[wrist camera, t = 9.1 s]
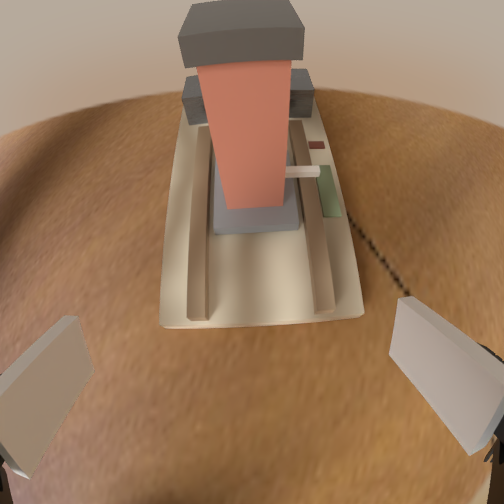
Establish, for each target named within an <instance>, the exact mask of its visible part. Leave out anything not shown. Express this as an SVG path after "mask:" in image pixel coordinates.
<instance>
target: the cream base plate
mask: <svg viewBox="0 0 504 504" xmlns="http://www.w3.org/2000/svg"><path fill="white" fill-rule="evenodd" d="M287 150H288V152H289V158H290V164H291V166H315V165H319V168H320V176H319V177H298V178H293V183H294V190H295V197H296V204H297V211H298V218H299V227H298V230H291V231H274V232H257V233H241V234H225V235H215V232H214V229H213V224H214V185H215V158H216V156H215V152H214V147H213V143H212V138H211V133H210V129H209V124H208V123H206V124H197V125H189V123H188V120H187V116H186V113H185V109H184V105H183V110H182V115H181V121H180V126H179V132H178V138H177V144H176V150H175V156H174V162H173V169H172V176H171V184H170V191H169V199H168V208H167V216H166V226H165V236H164V247H163V260H162V273H161V290H160V312H159V325H160V326H162V327H164V328H166V329H184V328H229V327H252V326H270V325H285V324H298V323H310V322H321V321H331V320H341V319H350V318H358V317H360V316H361V315H363V314H364V306H363V299H362V293H361V286H360V280H359V274H358V268H357V263H356V257H355V252H354V247H353V241H352V236H351V232H350V227H349V222H348V217H347V213H346V209H345V204H344V200H343V196H342V192H341V187H340V183H339V179H338V176H337V172H336V168H335V164H334V161H333V157H332V153H331V150H330V146H329V143H328V139H327V136H326V133H325V129H324V126H323V123H322V119H321V116H320V113H319V110H318V107H317V104H316V101H315V98H313V107H312V115H311V118H289V123H288V140H287Z"/></svg>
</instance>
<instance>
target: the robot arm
mask: <svg viewBox="0 0 504 504" xmlns="http://www.w3.org/2000/svg"><path fill="white" fill-rule="evenodd" d="M389 355H390V357H391V358H392V359H393V360H394V361H395V363H396V364H397V365H398V366H399V367H400V369H401V370H402V371H403V372H404V374H405V375H406V376H407V377H408V378H409V380H410V381H411V382H412V383H413V385H414V386H415V387H416V388H417V389H418V391H419V392H420V393H421V394H422V396H423V397H424V398H425V399H426V401H427V402H428V403H429V404H430V406H431V407H432V408H433V409H434V411H435V412H436V413H437V415H438V416H439V417H440V418H441V420H442V421H443V422H444V423H445V425H446V426H447V427H448V429H449V430H450V431H451V432H452V434H453V435H454V436H455V438H456V439H457V440H458V442H459V443H460V444H461V446H462V447H463V448H464V450H465V451H466V452H467V454H468V455H469V456H470V455H472V454H473V453H475V452H477V451H479V450H480V449H482V448H484V447H485V446H486V445H487V443H488V442H489V440H490V438H491V437H492V435H493V433H494V434H495V435H496V437H497V438H498V439H497V440H496V442H495V443H494V445H493V446H492V448H491V449H490V451H489V452H488V454H487V455H486V457H485V459H484V462H487V460H488V459H489V457H490V456H491V455H492V454H493V458H492V460H491V461H490V462H493V463H492V472H491V481H490V488H489V494H488V500H487V504H504V361H502V359H501V358H500V357H499V356H498V355H495V353H494V352H493V351H491V350H490V349H489V348H487V347H486V346H483V345H481V344H479V343H476V342H475V341H473V340H472V339H471V338H470V337H468V336H467V335H466V334H464V333H463V332H462V331H460V330H459V329H458V328H456V327H455V326H454V325H452V324H451V323H449V322H448V321H447V320H445V319H444V318H443V317H441V316H440V315H439V314H437V313H436V312H434V311H433V310H432V309H430V308H429V307H427V306H426V305H425V304H423V303H422V302H420V301H419V300H417V299H416V298H415V297H413V296H410V297H403V298H398V302H397V310H396V317H395V323H394V329H393V335H392V341H391V346H390V351H389ZM94 372H95V370H94V367H93V364H92V361H91V358H90V355H89V351H88V348H87V345H86V342H85V338H84V335H83V331H82V328H81V324H80V320H79V317H78V316H65V315H64V316H63V317H62V318H61V319H60V320H59V321H57V322H56V323H55V324H54V325H53V326H52V327H51V328H50V329H49V330H48V331H46V332H45V333H44V334H43V335H42V336H41V337H40V338H39V339H38V340H37V341H36V342H34V343H33V344H32V345H31V346H30V347H29V348H28V349H27V350H26V351H25V352H24V353H23V354H22V355H21V356H20V357H19V358H18V359H17V360H16V361H15V362H14V363H13V364H12V365H11V366H10V367H9V368H8V369H7V370H6V371H5V372H4V373H2V374H0V504H13V501H12V497H11V492H10V488H9V483H8V479H7V474H6V471H5V469H4V468H3V467H2V464H3V463H4V461H5V462H6V463H7V464H8V465H9V467H10V468H11V469H12V470H13V471H14V472H15V473H17V474H19V475H21V476H23V477H25V478H28V479H31V478H32V476H33V474H34V472H35V470H36V468H37V466H38V465H39V463H40V461H41V459H42V457H43V455H44V454H45V452H46V450H47V448H48V447H49V445H50V443H51V441H52V440H53V438H54V436H55V435H56V433H57V431H58V429H59V428H60V426H61V424H62V423H63V421H64V419H65V418H66V416H67V414H68V413H69V411H70V410H71V408H72V406H73V405H74V403H75V401H76V400H77V398H78V397H79V395H80V394H81V392H82V390H83V389H84V387H85V386H86V384H87V383H88V381H89V380H90V378H91V376H92V375H93V373H94Z"/></svg>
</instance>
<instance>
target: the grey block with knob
mask: <svg viewBox="0 0 504 504" xmlns="http://www.w3.org/2000/svg"><path fill="white" fill-rule="evenodd" d="M313 98H314V87H313V85H312V82H311V79H310V76H309V74H308V71H307V69H291V83H290V104H289V118H311V115H312V107H313ZM182 102H183V105H184V109H185V113H186V116H187V120H188V123H189V125H197V124H206V123H208V120H207V115H206V110H205V106H204V101H203V96H202V91H201V87H200V82H199V77H198V75H196V76H190V77H187V78H186V82H185V86H184V90H183V95H182Z"/></svg>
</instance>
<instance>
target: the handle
mask: <svg viewBox="0 0 504 504" xmlns="http://www.w3.org/2000/svg"><path fill="white" fill-rule="evenodd" d="M304 30H305V28H304V26H303V24H302V22H301V20H300V19H299V17H298V15H297V13H296V12H295V10H294V8H293V6H292V5H291V3H290V1H289V0H221V1H213V2H205V3H198V4H192V6H191V8H190V10H189V13H188V14H187V17H186V19H185V21H184V24H183V26H182V28H181V31H180V33H179V35H178V41H179V45H180V49H181V53H182V58H183V62H184V66H185V68H190V67H197V72H198V77H199V82H200V87H201V91H202V96H203V101H204V106H205V110H206V115H207V120H208V124H209V129H210V133H211V138H212V143H213V147H214V152H215V156H216V158H215V185H214V224H213V229H214V232H215V235H225V234H241V233H257V232H274V231H291V230H298V227H299V218H298V211H297V204H296V197H295V190H294V183H293V178H298V177H319V176H320V168H319V165H315V166H291V164H290V158H289V152H288V150H287V140H288V123H289V104H290V83H291V60H303V47H304Z"/></svg>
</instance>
